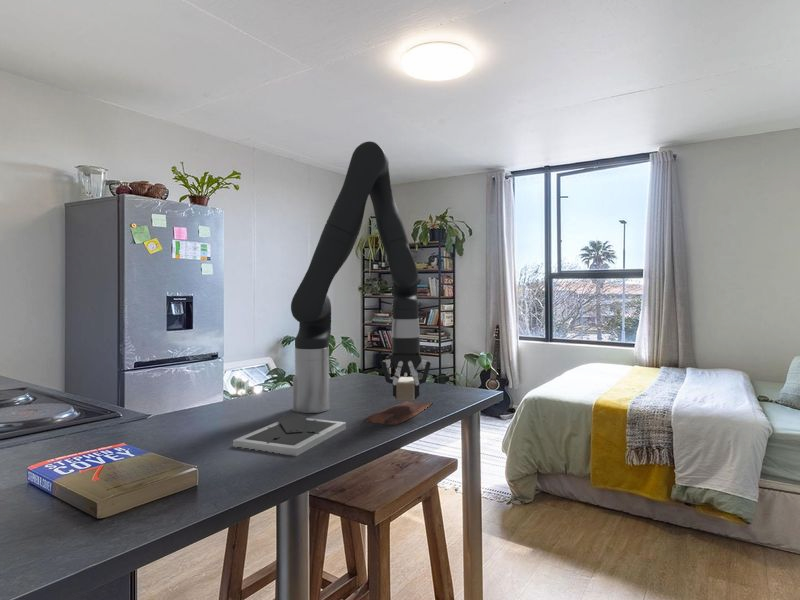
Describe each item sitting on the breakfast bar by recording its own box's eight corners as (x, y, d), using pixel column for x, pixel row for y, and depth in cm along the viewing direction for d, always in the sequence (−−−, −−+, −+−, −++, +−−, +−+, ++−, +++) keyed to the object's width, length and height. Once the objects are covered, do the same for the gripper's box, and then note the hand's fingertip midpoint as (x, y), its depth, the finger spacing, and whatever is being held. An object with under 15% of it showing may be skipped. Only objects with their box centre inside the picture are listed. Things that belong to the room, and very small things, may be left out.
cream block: (400, 376, 138) (396, 383, 128) (416, 376, 138) (413, 383, 128) (400, 392, 138) (396, 400, 128) (416, 393, 138) (413, 401, 128)
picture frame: (290, 424, 122) (233, 450, 103) (289, 413, 122) (232, 436, 102) (345, 431, 116) (296, 459, 97) (345, 419, 116) (296, 445, 97)
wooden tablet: (407, 397, 146) (438, 396, 141) (408, 404, 146) (439, 403, 141) (361, 418, 122) (396, 418, 118) (362, 427, 122) (397, 427, 118)
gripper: (377, 336, 129) (378, 401, 129) (431, 336, 127) (432, 401, 127) (381, 334, 136) (382, 395, 136) (432, 334, 135) (433, 395, 135)
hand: (406, 398), depth 132 cm, fingers closed on cream block, 4 cm apart
